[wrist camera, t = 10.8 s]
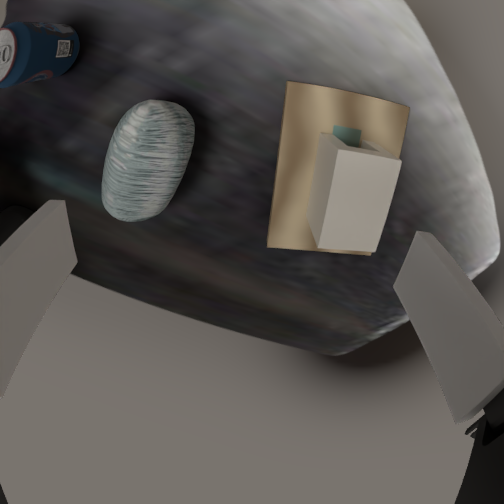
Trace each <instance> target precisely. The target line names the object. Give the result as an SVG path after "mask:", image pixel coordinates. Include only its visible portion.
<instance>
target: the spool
mask: <svg viewBox="0 0 504 504" xmlns="http://www.w3.org/2000/svg"><path fill="white" fill-rule="evenodd" d="M194 134H195V125H194V121H193V118H192V117H191V115H190V114H189V113H188V111H187V110H186V109H185V108H183V107H182V106H180V105H178V104H176V103H173V102H168V101H163V100H147V101H143V102H140V103H138V104H136V105H135V106H133V107H132V108H131V109H129V110H128V111H127V112H126V113H125V114H124V116H123V117H122V118H121V120H120V121H119V123H118V125H117V127H116V129H115V131H114V133H113V136H112V138H111V141H110V144H109V147H108V151H107V155H106V159H105V164H104V170H103V179H102V201H103V204H104V207H105V209H106V210H107V211H108V212H109V213H110V214H111V215H112V216H113V217H115V218H117V219H119V220H123V221H126V222H136V221H143V220H147V219H150V218H153V217H155V216H156V215H158V214H159V213H160V212H162V211H163V210H164V209H165V208H166V207H167V205H168V204H169V202H170V200H171V199H172V197H173V195H174V193H175V191H176V189H177V187H178V185H179V183H180V181H181V179H182V177H183V175H184V172H185V169H186V167H187V164H188V161H189V158H190V156H191V152H192V147H193V144H194Z"/></svg>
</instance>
